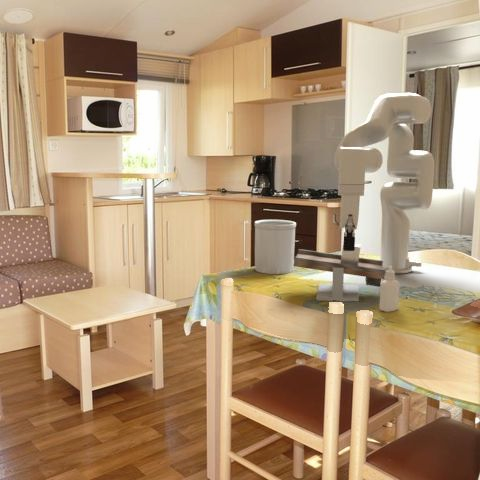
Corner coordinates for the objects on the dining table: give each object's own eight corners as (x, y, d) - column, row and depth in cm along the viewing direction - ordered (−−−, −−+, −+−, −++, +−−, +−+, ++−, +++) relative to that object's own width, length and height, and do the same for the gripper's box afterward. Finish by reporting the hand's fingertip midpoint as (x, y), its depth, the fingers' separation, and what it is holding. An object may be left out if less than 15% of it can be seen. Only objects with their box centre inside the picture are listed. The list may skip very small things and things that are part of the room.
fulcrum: (357, 287, 183) (358, 258, 182) (358, 302, 167) (359, 269, 165) (319, 286, 185) (320, 256, 184) (316, 300, 169) (317, 267, 167)
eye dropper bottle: (376, 307, 161) (377, 265, 159) (396, 307, 161) (397, 264, 159) (381, 312, 157) (383, 268, 155) (401, 311, 157) (403, 268, 155)
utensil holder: (299, 267, 214) (300, 220, 211) (289, 276, 200) (290, 225, 197) (261, 265, 219) (261, 218, 216) (248, 273, 205) (248, 223, 202)
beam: (379, 278, 180) (382, 260, 179) (382, 289, 166) (385, 270, 165) (296, 266, 184) (298, 249, 183) (292, 276, 171) (294, 257, 170)
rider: (357, 263, 176) (360, 244, 175) (357, 267, 171) (360, 247, 170) (340, 261, 177) (343, 242, 176) (340, 264, 172) (343, 244, 171)
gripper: (338, 188, 180) (336, 243, 182) (337, 191, 163) (335, 252, 165) (363, 189, 178) (361, 244, 181) (365, 192, 161) (362, 253, 164)
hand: (348, 248), depth 173 cm, fingers open, 9 cm apart
